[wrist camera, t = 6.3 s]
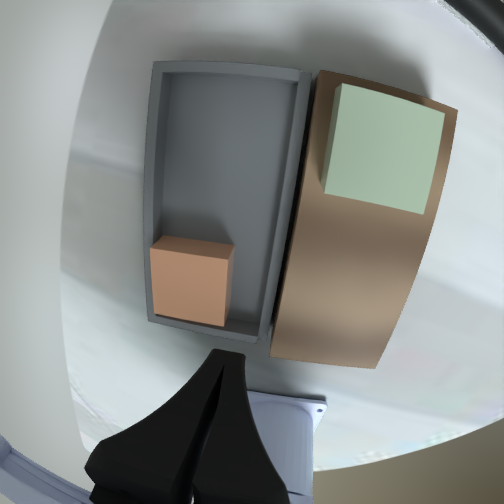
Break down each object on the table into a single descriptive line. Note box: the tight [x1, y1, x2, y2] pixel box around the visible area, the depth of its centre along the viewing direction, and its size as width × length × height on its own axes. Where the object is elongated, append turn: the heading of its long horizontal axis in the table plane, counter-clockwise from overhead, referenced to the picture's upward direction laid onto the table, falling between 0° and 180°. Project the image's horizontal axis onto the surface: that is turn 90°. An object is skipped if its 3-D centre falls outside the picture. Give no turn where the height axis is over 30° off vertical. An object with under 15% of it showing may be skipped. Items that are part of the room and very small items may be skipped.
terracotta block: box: [150, 235, 235, 327], centre depth 18 cm, size 4×4×2 cm
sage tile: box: [320, 83, 445, 215], centre depth 12 cm, size 4×4×2 cm
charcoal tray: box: [143, 61, 312, 344], centre depth 17 cm, size 16×8×2 cm, turn 173°
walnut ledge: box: [269, 70, 458, 369], centre depth 16 cm, size 16×7×3 cm, turn 173°
